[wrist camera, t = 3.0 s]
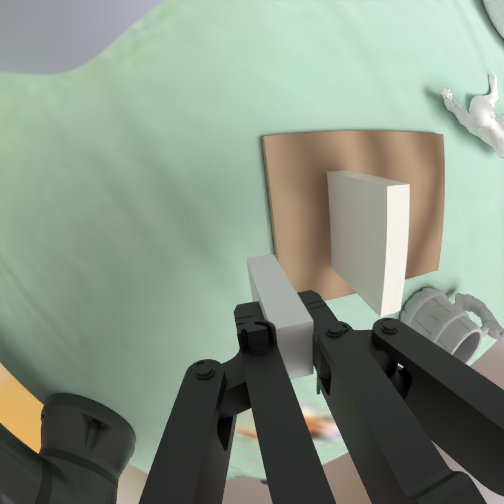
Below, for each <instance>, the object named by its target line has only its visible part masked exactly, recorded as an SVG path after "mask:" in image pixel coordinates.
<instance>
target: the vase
mask: <svg viewBox="0 0 504 504" xmlns="http://www.w3.org/2000/svg"><path fill="white" fill-rule="evenodd" d="M483 3H484V6H485V9H486V12H487V14H488V16H489V18H490V20H491V21H492V23H493V25H494V27H495V28H496V30H497V31H498V33H499V34H500V35H501V37H502V38H503V39H504V0H483Z"/></svg>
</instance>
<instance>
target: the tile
mask: <svg viewBox="0 0 504 504" xmlns="http://www.w3.org/2000/svg"><path fill="white" fill-rule="evenodd" d="M327 180H328V194H329V211H330V232H331V268H332V269H333V270H334V271H335V272H336V273H337V274H338V275H339V276H340V277H341V278H342V279H343V280H344V281H345V282H346V283H347V284H348V285H349V286H350V287H351V288H352V289H353V290H354V291H355V292H356V293H357V294H358V295H359V296H360V297H361V298H362V299H363V300H364V301H365V302H366V303H367V304H368V305H369V306H370V307H371V308H372V309H373V310H374V311H375V312H376V313H377V314H378V315H379V317H383V316H386V315H389V314H392V313H395V312H398V311H400V310H401V303H402V296H403V289H404V280H405V271H406V261H407V249H408V233H409V204H410V184H406V183H402V182H398V181H394V180H390V179H385V178H381V177H376V176H372V175H367V174H362V173H357V172H352V171H347V170H340V171H329V172H327Z"/></svg>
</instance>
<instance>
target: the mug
mask: <svg viewBox="0 0 504 504" xmlns="http://www.w3.org/2000/svg"><path fill="white" fill-rule="evenodd" d="M404 308H405V309H403V310H402V312H401V315H400V321H401V322H403V323H405V324H406V325H408V326H409V327H411V328H412V329H414V330H415V331H417V332H418V333H420V334H421V335H423V336H424V337H426V338H427V339H429V340H431V341H432V342H434V343H435V344H437V345H438V346H440V347H441V348H443V349H444V350H446V351H447V352H449V353H450V354H452V355H453V356H455V357H456V358H458V359H459V360H461V361H462V362H464V363H465V364H467V363H468V362H469V361H470V360H471V358H472V357H473V356H474V354H475V353H476V351H477V350H478V348H479V346H480V343H481V340H482V338H483V337H484V336H485V335H489V336H491V337H492V338H495V339H498V340H504V329H503V328H502V327H501V326H500V325H499V322H498V321H497V320H496V319H495V317H494V316H493V314H492V313H491V312H490V310H489V309H488V308H487V307H486V305H485V304H484V303H483V302H482V301H480V300H479V299H476V298H475V297H473V296H471V295H469V294H466V295H464V294H461V293H457V294H456V296H455V303H454V305H453V304H452V303H451V302H449V301H448V298H447V296H446V295H445V294H444V293H443V292H442V291H440V290H436V289H433V288H430V287H427V288H423V289H422V291H421V292H416V293H415V294H414V295H413V296H412V297H411V298H410V299H409V300H408V302H407V303H406V305H405V307H404ZM465 311H469V312H471V311H472V312H474V314H476V315H477V316H478V317H480V318H481V320H482V325H483V326H482V327H480V328H479V327H478V326H477V325H476V324H475V323H474V322H473V321H472V320H471V319H470V317H469V315H468V314H467V313H466V312H465Z"/></svg>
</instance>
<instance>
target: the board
mask: <svg viewBox="0 0 504 504" xmlns="http://www.w3.org/2000/svg"><path fill="white" fill-rule="evenodd" d="M261 140H262V148H263V156H264V164H265V172H266V181H267V189H268V198H269V206H270V215H271V224H272V233H273V242H274V252H275V257H276V259H277V261H278V262H279V264H280V266H281V267H282V269H283V271H284V272H285V274H286V276H287V277H288V279H289V281H290V282H291V284H292V286H293V287H294V289H295V291H296V292H297V293H298V292H303V291H308V290H313V291H314V292H316V293H318V294H319V295H320V296H321V297H322V299H323V301H326V300H330V299H335V298H339V297H343V296H347V295H351V294H355V293H356V292H355V291H354V290H353V289H352V288H351V287H350V286H349V285H348V284H347V283H346V282H345V281H344V280H343V279H342V278H341V277H340V276H339V275H338V274H337V273H336V272H335V271H334V270H333V269H332V268H331V232H330V211H329V194H328V180H327V172H329V171H340V170H347V171H352V172H357V173H362V174H367V175H372V176H376V177H381V178H385V179H390V180H394V181H398V182H402V183H406V184H410V204H409V233H408V249H407V261H406V271H405V280H406V279H409V278H413V277H416V276H419V275H423V274H426V273H429V272H432V271H436V270H438V267H439V259H440V251H441V242H442V231H443V218H444V196H445V160H444V139H443V134H434V133H421V132H403V131H325V132H306V133H292V134H280V135H269V136H262V137H261Z"/></svg>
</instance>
